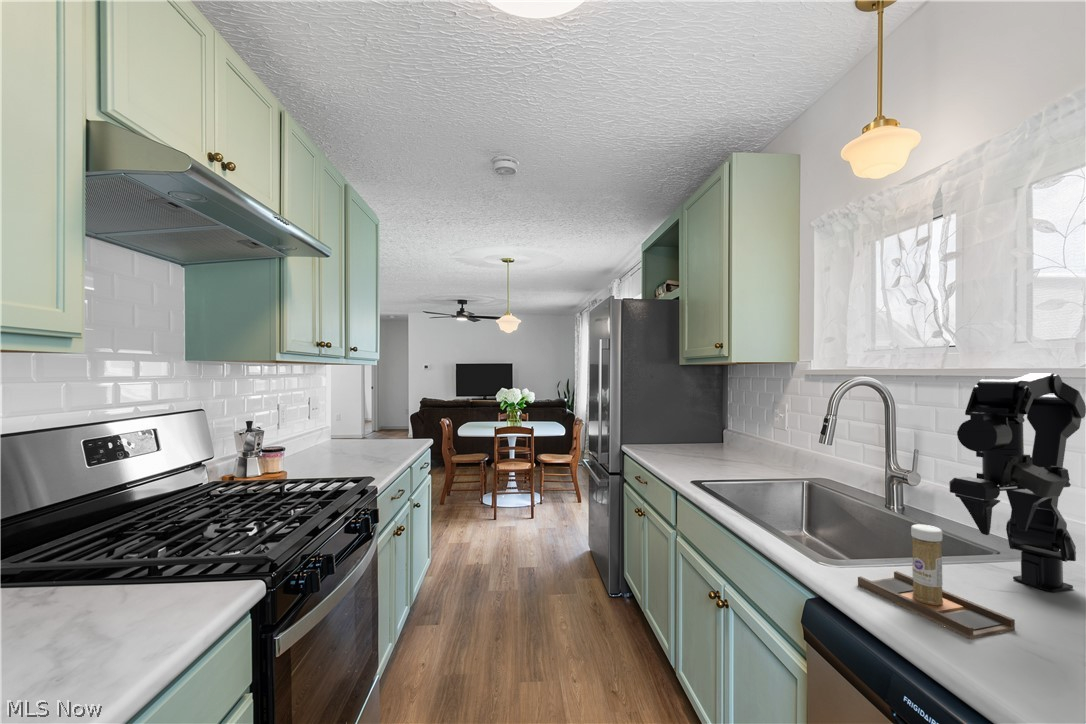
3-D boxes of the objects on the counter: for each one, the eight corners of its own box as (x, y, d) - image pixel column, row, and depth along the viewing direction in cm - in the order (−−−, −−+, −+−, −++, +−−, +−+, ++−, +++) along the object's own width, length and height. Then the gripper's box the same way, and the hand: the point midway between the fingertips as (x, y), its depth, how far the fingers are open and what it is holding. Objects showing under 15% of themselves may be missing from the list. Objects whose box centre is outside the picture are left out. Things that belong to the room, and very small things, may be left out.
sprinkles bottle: (907, 598, 94) (906, 525, 94) (920, 593, 96) (918, 522, 96) (936, 608, 90) (934, 532, 90) (948, 602, 92) (947, 528, 92)
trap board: (897, 579, 104) (896, 571, 104) (1014, 629, 84) (1014, 619, 84) (857, 585, 102) (857, 576, 102) (969, 638, 82) (969, 628, 82)
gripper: (1015, 456, 84) (1017, 552, 83) (1094, 452, 88) (1096, 542, 88) (946, 447, 94) (947, 531, 94) (1020, 443, 99) (1021, 523, 99)
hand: (1004, 532), depth 93 cm, fingers open, 9 cm apart
